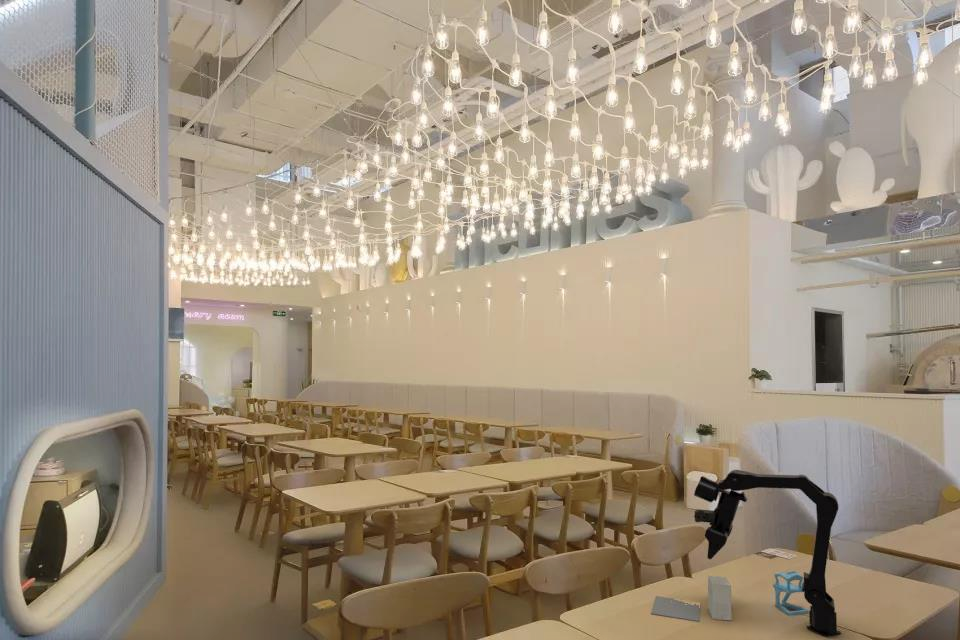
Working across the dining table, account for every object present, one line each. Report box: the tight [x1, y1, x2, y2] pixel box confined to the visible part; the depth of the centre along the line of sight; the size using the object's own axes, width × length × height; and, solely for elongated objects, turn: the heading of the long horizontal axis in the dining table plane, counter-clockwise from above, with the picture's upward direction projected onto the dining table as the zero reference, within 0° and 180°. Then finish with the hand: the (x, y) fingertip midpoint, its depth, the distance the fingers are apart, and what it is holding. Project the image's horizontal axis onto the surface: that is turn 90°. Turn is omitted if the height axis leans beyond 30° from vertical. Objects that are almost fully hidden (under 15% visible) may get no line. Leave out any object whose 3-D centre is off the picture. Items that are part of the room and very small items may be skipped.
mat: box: [650, 595, 701, 623], centre depth 196 cm, size 14×16×1 cm
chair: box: [772, 570, 809, 616], centre depth 198 cm, size 8×8×12 cm
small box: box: [707, 575, 732, 621], centre depth 192 cm, size 8×6×10 cm
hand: (711, 555), depth 197 cm, fingers open, 9 cm apart
